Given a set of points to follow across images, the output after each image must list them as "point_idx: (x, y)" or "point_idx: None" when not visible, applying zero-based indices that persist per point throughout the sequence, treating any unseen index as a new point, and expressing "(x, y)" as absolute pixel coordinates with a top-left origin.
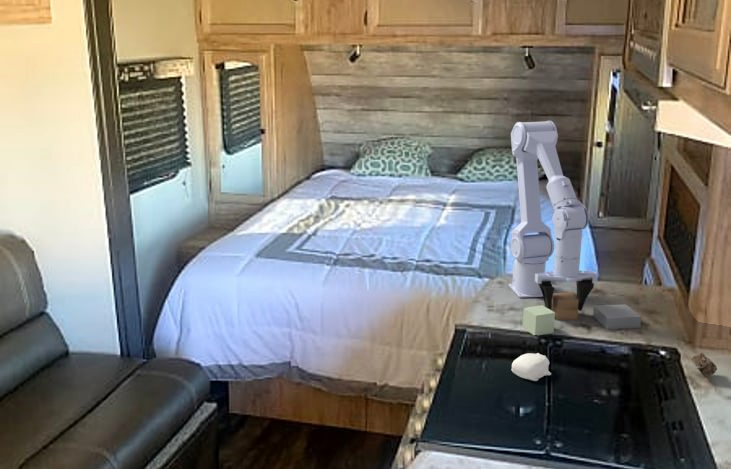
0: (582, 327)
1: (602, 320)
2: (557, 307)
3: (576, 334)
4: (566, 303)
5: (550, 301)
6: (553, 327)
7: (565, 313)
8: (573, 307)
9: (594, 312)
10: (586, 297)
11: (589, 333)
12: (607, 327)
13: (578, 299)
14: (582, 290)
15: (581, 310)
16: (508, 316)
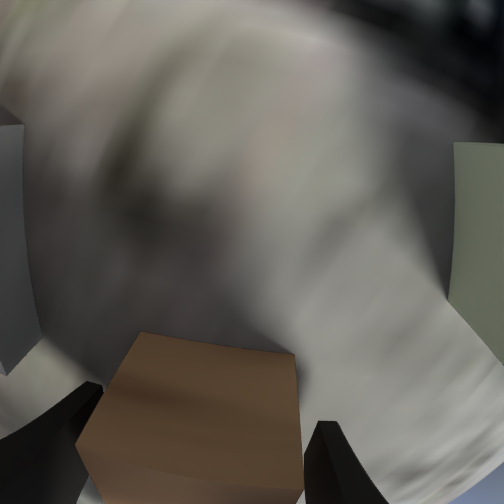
0: (165, 175)
1: (4, 209)
2: (300, 431)
3: (294, 49)
4: (208, 450)
5: (352, 487)
6: (483, 144)
7: (225, 378)
8: (144, 402)
9: (22, 337)
10: (12, 435)
11: (173, 48)
12: (15, 125)
13: (76, 447)
14: (17, 501)
15: (86, 382)
16: (487, 414)
